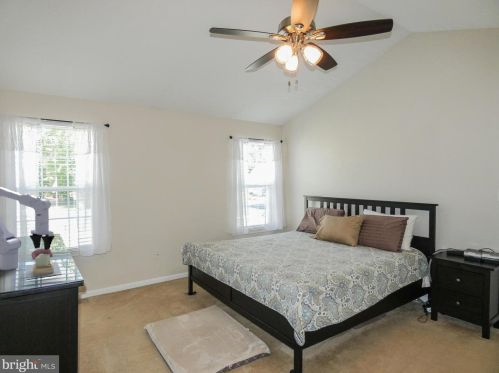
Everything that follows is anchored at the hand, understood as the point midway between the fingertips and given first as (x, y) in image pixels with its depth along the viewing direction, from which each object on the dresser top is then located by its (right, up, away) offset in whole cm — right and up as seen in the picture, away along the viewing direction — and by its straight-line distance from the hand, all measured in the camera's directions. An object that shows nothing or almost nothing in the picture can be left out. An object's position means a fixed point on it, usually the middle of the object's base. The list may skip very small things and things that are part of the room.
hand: (42, 248), depth 154 cm
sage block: (+6, -7, -8) cm, 12 cm away
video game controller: (-14, -10, +20) cm, 26 cm away
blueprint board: (+3, -11, -4) cm, 12 cm away
